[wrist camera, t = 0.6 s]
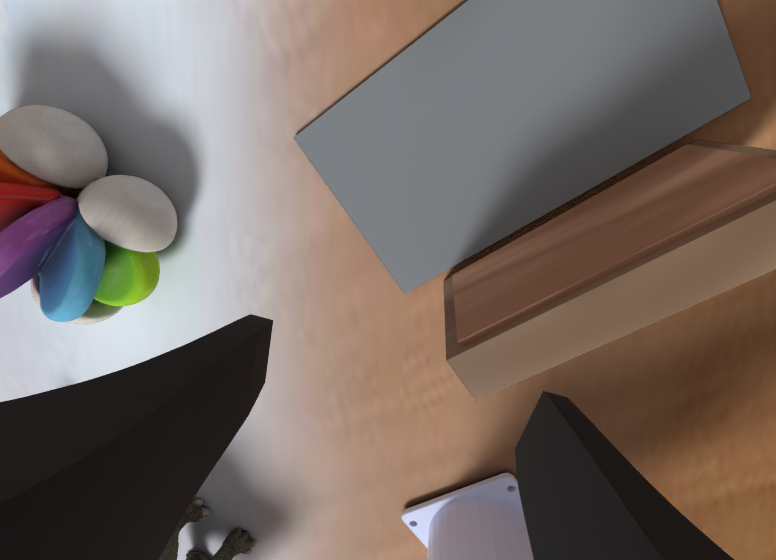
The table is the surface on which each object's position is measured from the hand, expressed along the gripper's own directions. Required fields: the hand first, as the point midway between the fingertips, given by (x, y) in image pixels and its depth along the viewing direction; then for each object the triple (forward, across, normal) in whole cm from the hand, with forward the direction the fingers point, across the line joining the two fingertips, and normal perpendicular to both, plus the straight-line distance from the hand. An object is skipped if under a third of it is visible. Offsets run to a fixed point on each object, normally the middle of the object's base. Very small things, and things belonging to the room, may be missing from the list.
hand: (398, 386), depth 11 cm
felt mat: (+10, -2, -7) cm, 12 cm away
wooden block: (+10, -6, -3) cm, 12 cm away
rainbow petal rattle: (+10, +16, +2) cm, 20 cm away
